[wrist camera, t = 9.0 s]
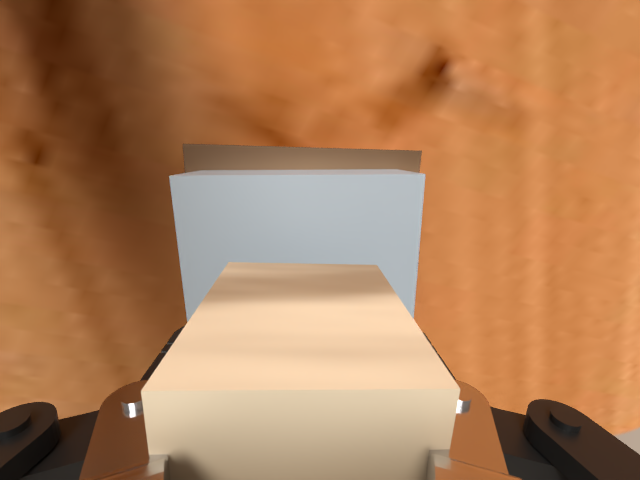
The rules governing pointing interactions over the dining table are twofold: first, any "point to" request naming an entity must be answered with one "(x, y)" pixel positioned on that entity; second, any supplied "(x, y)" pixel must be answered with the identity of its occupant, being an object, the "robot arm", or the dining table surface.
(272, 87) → the dining table surface
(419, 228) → the slate-blue block
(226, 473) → the maple block
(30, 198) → the dining table surface
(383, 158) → the walnut plinth block
